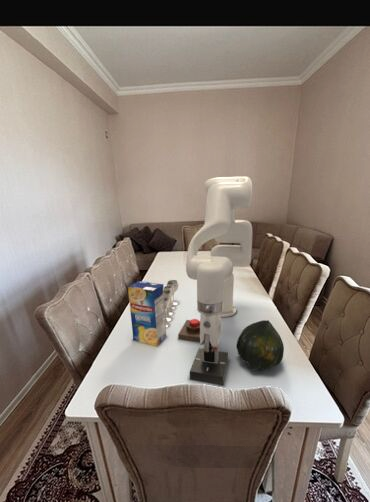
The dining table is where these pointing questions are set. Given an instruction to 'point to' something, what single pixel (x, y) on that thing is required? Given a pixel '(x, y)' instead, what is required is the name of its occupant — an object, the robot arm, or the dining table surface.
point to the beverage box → (147, 312)
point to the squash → (260, 346)
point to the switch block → (189, 332)
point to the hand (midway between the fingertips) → (210, 358)
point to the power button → (194, 322)
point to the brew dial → (215, 355)
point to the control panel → (209, 369)
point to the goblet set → (169, 298)
